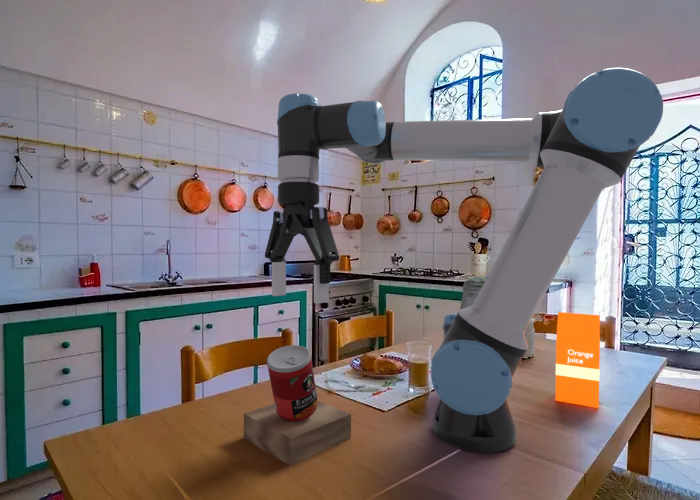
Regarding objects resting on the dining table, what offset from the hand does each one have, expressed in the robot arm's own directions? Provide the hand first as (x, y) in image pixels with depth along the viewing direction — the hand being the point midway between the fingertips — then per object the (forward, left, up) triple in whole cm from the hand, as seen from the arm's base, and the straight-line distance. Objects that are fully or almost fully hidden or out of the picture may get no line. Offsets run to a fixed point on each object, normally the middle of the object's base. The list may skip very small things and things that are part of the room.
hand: (298, 299), depth 79 cm
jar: (+4, -88, -26) cm, 92 cm away
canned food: (0, 0, -20) cm, 20 cm away
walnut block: (0, 0, -26) cm, 26 cm away
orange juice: (-26, -61, -26) cm, 71 cm away
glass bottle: (-7, -48, -26) cm, 55 cm away
